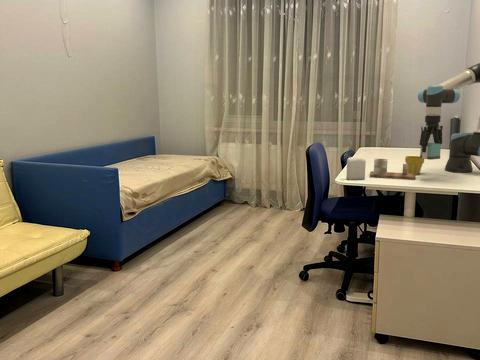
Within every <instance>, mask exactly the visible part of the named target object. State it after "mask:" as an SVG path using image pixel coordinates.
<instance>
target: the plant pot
mask: <svg viewBox="0 0 480 360" xmlns="http://www.w3.org/2000/svg"><path fill="white" fill-rule="evenodd" d="M404 163H405V164H408V166H407V173H413V174H415V175H419V174H420V173H421V169H422V167H423V164H424V163H425V159H423V158H420V155H407V156H406V155H405V159H404Z"/></svg>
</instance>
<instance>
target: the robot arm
mask: <svg viewBox="0 0 480 360" xmlns="http://www.w3.org/2000/svg"><path fill="white" fill-rule="evenodd" d="M479 83H480V62H479V63H476V64H474V65H471V66H470V67H467V68H465V69H463V70H462V71H461V73H458V74H456V75H455V76H453V77H451V78H449V79H448V78H447V80H444V81H442V82H441V83H439V84H435V85H432V84H431V85H428V86H427V88H425V89H420V90H419V92H418V94H417V100H418V101H419V103H422V104H423V103H424V104H425V116H424V122H425V125H424V126H421V127H420V128H421V129H420V130H421V133H420V138H419V146H420V147H421V146H422V152H423V154H422V158H424V160H428V159H427V156H428V146H427V144H428V143H429V141H430V137H431V135H432V137H433V138H432V139H433V143H438V144H441V145H442V144H443V129H444V126H443V125H440V124H439V123H441V117H442V116H441V115H442V105H443V104H455V103H457V102H459V100H460V97H461V93H460V91H459V90H460V89H461V88H464V87H465V86H471V85H473V84H479ZM471 156H473V157H480V116H479V117H478V122H477V127H476V129H475V130H473V132H459V133H453V134H452V135H450V143H449V154H448V159H447V161H446V164H445V166H444V171H446V172H451V173H459V174H460V173H461V174H462V173H463V174H465V173H466V174H467V173H468V174H469V173H473V170H474V168H473V164H472V160H471Z"/></svg>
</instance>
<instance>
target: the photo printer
mask: <svg viewBox="0 0 480 360" xmlns="http://www.w3.org/2000/svg"><path fill="white" fill-rule="evenodd" d="M366 166H367V164H366V158H365V157H362V156H351V157H348V158H347V160H346V175H345V176H346V178H345V179H346V180H348V179H352V180H366Z"/></svg>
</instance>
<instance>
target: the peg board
mask: <svg viewBox="0 0 480 360" xmlns="http://www.w3.org/2000/svg"><path fill="white" fill-rule="evenodd" d="M373 161H374V162H373V171H372V170H370V172H369V178H375V179H376V178H378V179H393V180H394V179H396V180H410V181H411V180H412V181H415V180H416V178H417V177H416V174H413V173H407V166H408V164H406V163H402V172H388V158H378V157H377V158H374V160H373Z"/></svg>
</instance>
